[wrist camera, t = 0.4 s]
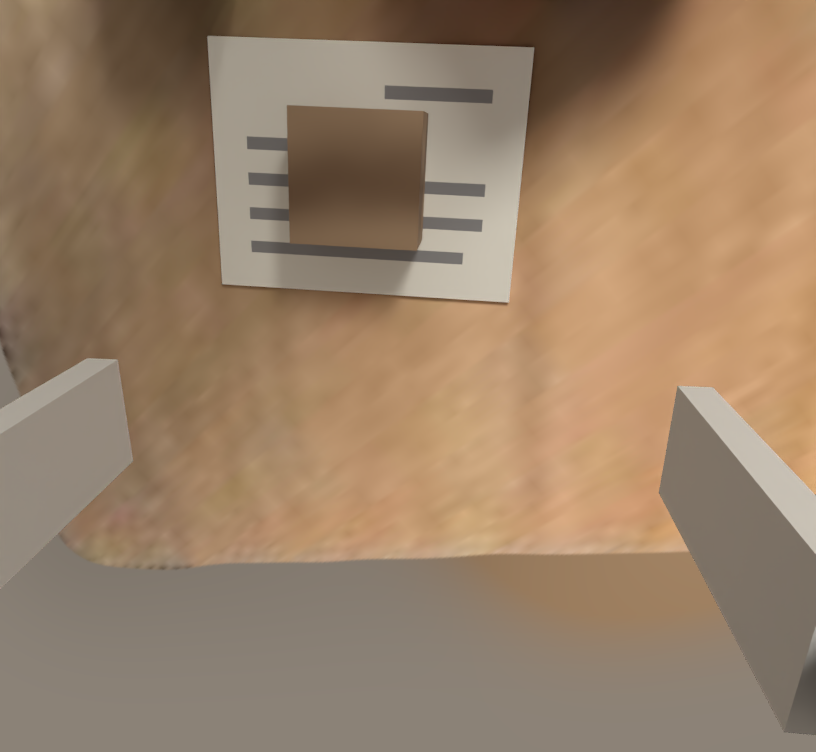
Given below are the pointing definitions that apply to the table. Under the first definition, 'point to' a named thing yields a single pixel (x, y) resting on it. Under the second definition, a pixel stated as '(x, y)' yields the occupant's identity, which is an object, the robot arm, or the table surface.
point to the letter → (373, 89)
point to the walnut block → (356, 176)
